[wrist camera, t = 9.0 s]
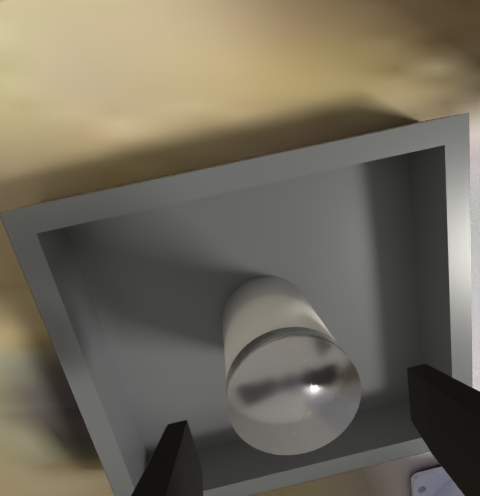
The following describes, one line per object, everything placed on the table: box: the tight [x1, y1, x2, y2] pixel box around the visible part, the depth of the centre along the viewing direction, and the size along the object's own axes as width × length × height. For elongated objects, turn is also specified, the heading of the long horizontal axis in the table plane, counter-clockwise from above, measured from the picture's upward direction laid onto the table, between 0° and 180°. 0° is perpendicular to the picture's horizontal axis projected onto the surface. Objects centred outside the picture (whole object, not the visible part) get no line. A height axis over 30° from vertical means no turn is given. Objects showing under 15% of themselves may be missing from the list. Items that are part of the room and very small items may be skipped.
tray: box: [0, 113, 472, 496], centre depth 16 cm, size 16×18×3 cm
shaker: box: [222, 276, 361, 455], centre depth 14 cm, size 5×5×6 cm
